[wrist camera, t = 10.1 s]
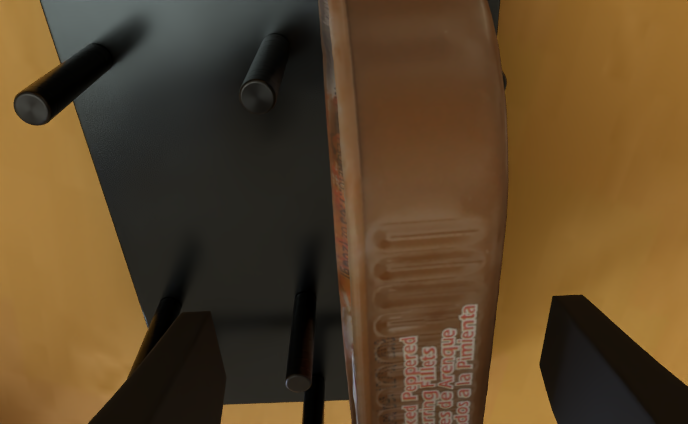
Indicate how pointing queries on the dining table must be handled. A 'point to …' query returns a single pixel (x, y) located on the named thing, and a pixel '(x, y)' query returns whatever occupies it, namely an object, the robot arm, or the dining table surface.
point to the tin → (416, 202)
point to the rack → (214, 175)
